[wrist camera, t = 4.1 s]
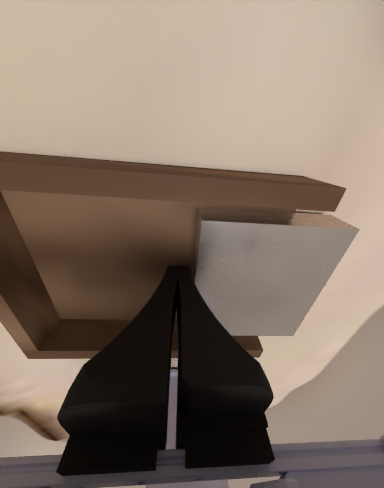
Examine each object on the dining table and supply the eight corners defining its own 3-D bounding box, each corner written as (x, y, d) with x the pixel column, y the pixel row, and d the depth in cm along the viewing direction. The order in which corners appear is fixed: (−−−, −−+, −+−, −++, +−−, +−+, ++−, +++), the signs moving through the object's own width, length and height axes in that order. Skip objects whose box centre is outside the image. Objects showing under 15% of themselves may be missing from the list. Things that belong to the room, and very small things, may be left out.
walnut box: (247, 323, 16) (259, 357, 14) (55, 321, 15) (28, 358, 12) (303, 176, 10) (346, 188, 7) (-31, 148, 8) (-126, 152, 6)
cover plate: (280, 313, 15) (293, 335, 13) (187, 312, 14) (188, 335, 13) (330, 214, 10) (359, 229, 9) (198, 206, 10) (201, 220, 8)
